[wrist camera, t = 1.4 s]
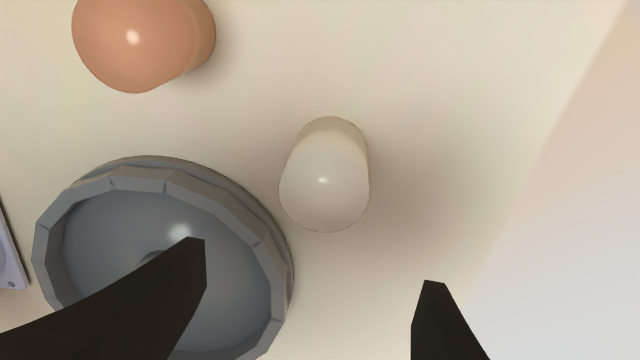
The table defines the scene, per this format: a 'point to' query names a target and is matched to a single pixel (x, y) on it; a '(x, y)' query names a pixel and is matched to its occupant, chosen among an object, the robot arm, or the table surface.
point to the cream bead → (326, 176)
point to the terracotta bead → (142, 40)
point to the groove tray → (160, 234)
